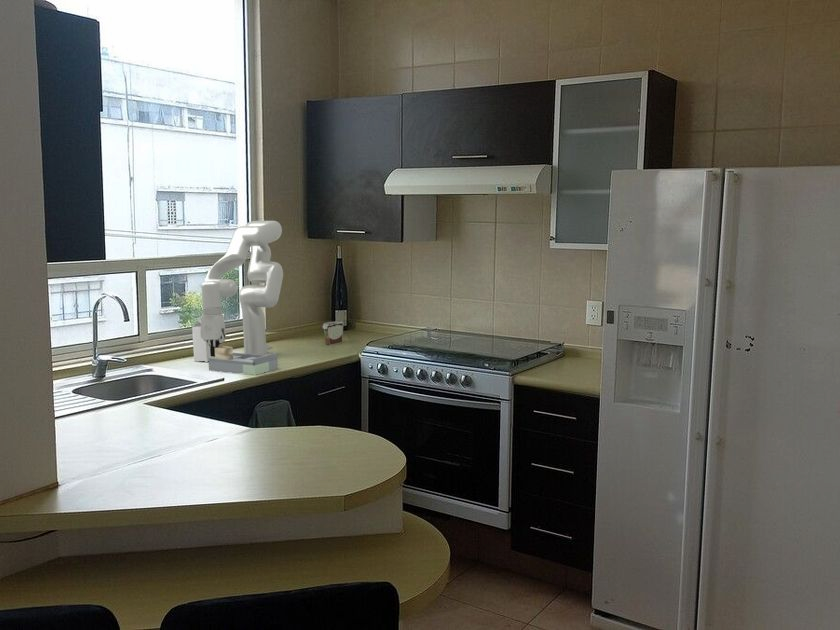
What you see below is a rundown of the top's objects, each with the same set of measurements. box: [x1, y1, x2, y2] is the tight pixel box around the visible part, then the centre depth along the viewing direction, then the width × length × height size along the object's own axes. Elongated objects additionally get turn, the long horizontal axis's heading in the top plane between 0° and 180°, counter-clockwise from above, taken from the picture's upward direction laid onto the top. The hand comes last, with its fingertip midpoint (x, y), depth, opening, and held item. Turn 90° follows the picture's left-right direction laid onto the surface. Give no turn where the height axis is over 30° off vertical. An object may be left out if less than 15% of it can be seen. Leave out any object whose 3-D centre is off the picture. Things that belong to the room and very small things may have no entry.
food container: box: [322, 321, 345, 346], centre depth 386 cm, size 12×6×10 cm, turn 144°
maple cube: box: [215, 345, 234, 360], centre depth 327 cm, size 5×5×5 cm
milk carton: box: [191, 317, 215, 363], centre depth 347 cm, size 7×7×19 cm
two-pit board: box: [208, 352, 279, 376], centre depth 326 cm, size 14×24×6 cm, turn 61°
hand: (214, 355), depth 330 cm, fingers closed
